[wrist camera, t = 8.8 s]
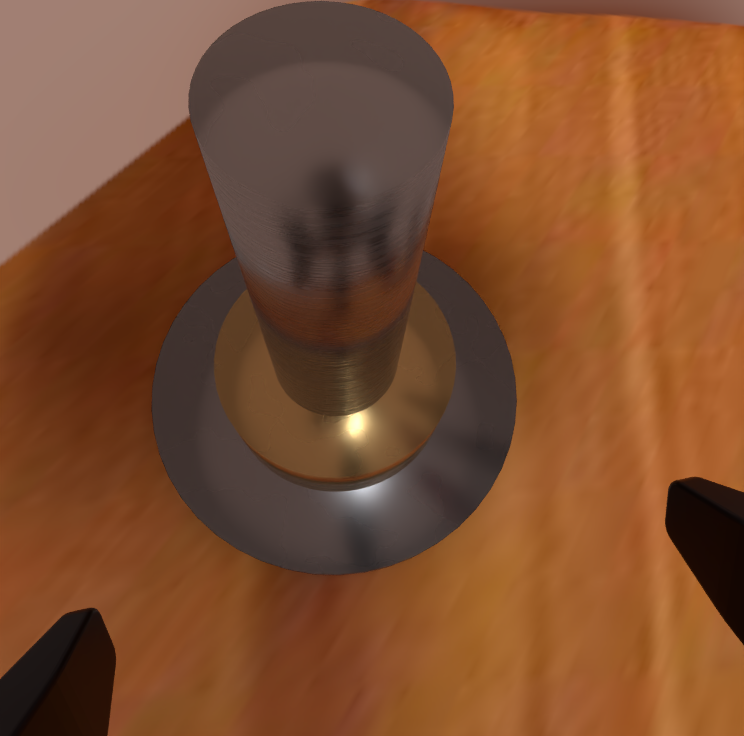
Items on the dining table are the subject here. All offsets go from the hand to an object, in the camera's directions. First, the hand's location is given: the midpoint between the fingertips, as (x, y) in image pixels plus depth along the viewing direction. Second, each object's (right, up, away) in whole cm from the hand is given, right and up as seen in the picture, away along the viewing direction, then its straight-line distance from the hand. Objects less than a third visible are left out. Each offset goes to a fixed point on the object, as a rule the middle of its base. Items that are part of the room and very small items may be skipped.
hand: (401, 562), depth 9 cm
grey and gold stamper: (-2, +2, +10) cm, 11 cm away
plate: (-2, +2, +11) cm, 11 cm away
